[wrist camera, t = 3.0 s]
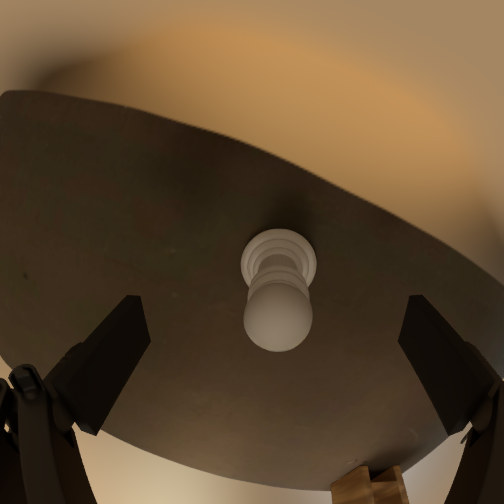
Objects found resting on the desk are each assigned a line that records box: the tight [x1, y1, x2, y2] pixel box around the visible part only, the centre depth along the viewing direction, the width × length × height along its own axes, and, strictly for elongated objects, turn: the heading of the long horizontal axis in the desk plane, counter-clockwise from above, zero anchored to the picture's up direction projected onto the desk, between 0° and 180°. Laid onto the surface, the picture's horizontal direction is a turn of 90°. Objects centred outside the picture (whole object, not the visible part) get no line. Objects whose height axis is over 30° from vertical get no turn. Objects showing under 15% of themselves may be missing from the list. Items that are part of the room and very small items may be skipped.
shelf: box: [331, 465, 409, 504], centre depth 25 cm, size 9×8×12 cm
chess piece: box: [241, 229, 317, 352], centre depth 16 cm, size 5×5×9 cm
